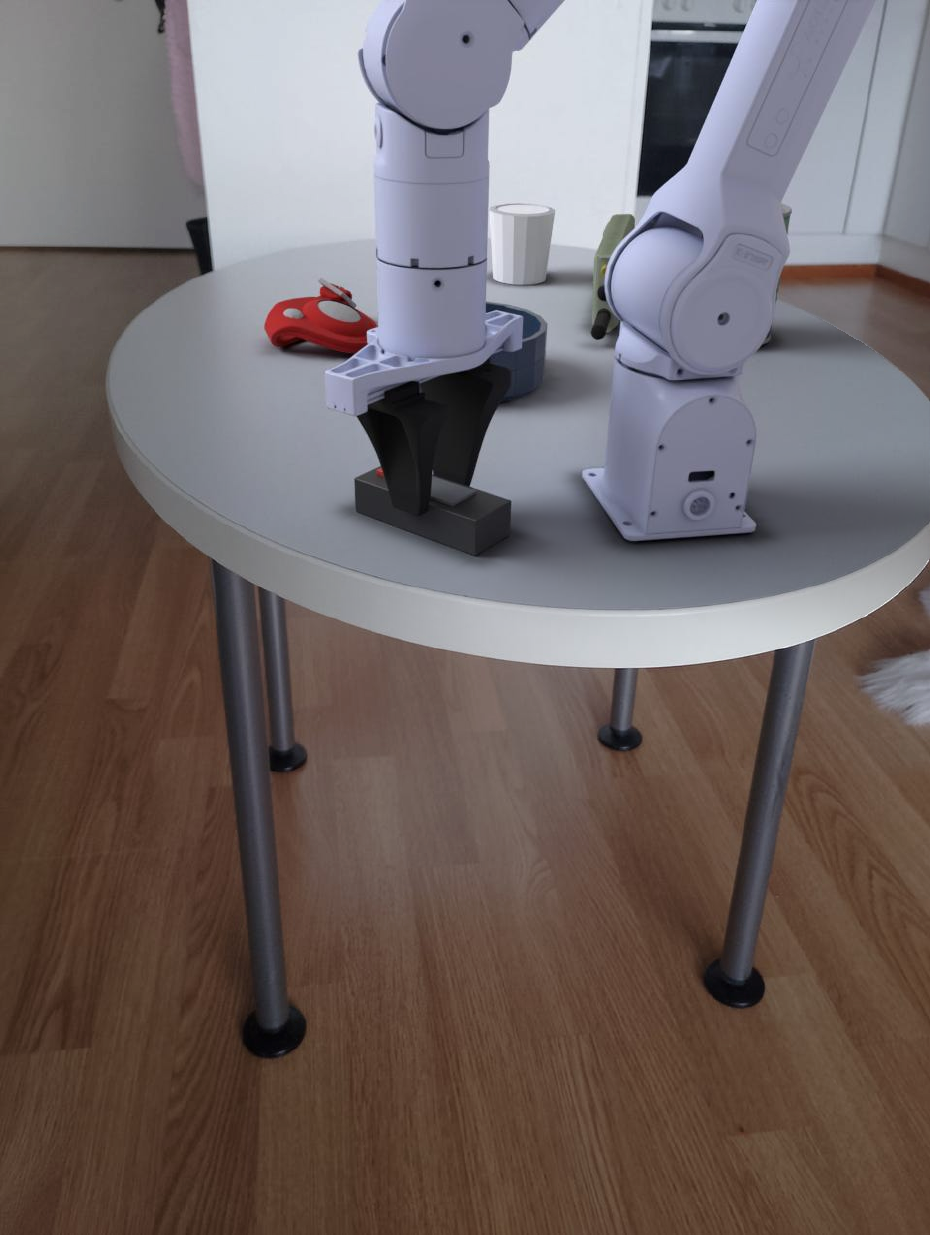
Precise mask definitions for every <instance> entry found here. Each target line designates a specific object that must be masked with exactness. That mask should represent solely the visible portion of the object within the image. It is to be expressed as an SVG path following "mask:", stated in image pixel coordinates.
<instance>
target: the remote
mask: <svg viewBox="0 0 930 1235" xmlns="http://www.w3.org/2000/svg"><path fill="white" fill-rule="evenodd" d="M353 480H354V504H355V512H357V513H359V514H362V515H364V516H368V517H370V518H373V519H374V520H375V519H376V520H378V521H381V522H383V523H385V524H389V525H392V526H394V527H396V528H400V529H401V530H404V531H407V532H410V533H413V534H415V535H418V536H421V537H422V538H423V537H424V538H426V539H429V540H432V541H434V542H437V543H438V544H439V543H440V544H442V545H445V546H447V547H451V548H452V549H456V550H458V551H461V552H464V553H467V554H469V555H472V556H475V557H476V556H478V555H479V554H480V553H482V552H484V551H486V550H487V549H489V548H490V547H492V546H494V545H496V544H497V543H499V542H500V541H502V540H503V539H505V538H507V537H509V536H510V535H511V522H512V521H511V520H512V519H511V518H512V500H511V499H508V498H505V497H502V496H499V495H496V494H493V493H490V492H487V491H484V490H481V489H478V488H474V487H472V486H470V487H469V486H466V485H463V484H460V483H457V482H454V481H451V480H448V479H445V478H442V477H439V476H436V475H433V473H432V487H431V498H430V503H429V505H428V509H427V512H426V513H425V514H423V515H421V516H416V515H413V514H410V513H408V512H405V511H402V510H399V509H397V508H394V507H393V505H392V501H391V498H390V494H389V491H388V487H387V484H386V480H385V477H384V474H383V471H382V468H381V465H379V466H377V467H374V468H373V469H371V470H369V471H366V472H364V473H363V474H360V475H358V476H356V477H354V479H353Z"/></svg>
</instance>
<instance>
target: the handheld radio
mask: <svg viewBox="0 0 930 1235" xmlns="http://www.w3.org/2000/svg"><path fill="white" fill-rule="evenodd" d="M635 225H636V218H635V216H634V215H633V214H631V213H621V214H620V213H618V214H613V215H612V216H611V217H610V220H609V221H608V222H607V224H606V225H605V226H604V227H605V228H604V230H603V231H602V238H601V240H600V242H599V245H598V247H597V249H596V252H595V255H594V257H593V276H592V277H593V278H592V300H591V302H592V303H591V325H592V328H591V330H590V335H591V337H592V338H593V339H594V340H597V341H599V340H602V339H604V338H605V337H606V334H610V333H611V332H612V331H613V330H614V329H616V327H617V326H618V325H619V323H620V320H619V319H618V318H617V317H616V316H615V315H614V313H613V312H612V310H611V309H610V307H609V304H608V302H607V299H606V294H605V284H604V282H605V273H606V269H607V265H608V262H609V260H610V258H611V255H612V254H613V252H614V250H615V248H616V247H617V246H618V245H619V243H620V242H621V241H622V240H623V239H624V238H625V237H626V236H627V235H628V234H629V233H630V232H631V231H632V230H633V229H634V228H635V227H636V226H635Z"/></svg>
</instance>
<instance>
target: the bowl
mask: <svg viewBox="0 0 930 1235" xmlns="http://www.w3.org/2000/svg"><path fill="white" fill-rule="evenodd" d="M495 310H498V311H502V312H507V313H511V314H516V315H520V316H523V335H522V348H521V349H519V350H517V351H514V352H507V351H504V350H502V351H499V352H497V353H494V354H492V355H491V364H494V365H498V366H502V367H505V368H508V369H509V370H510V371H511V387H510V388H509V390H508V391H507V393H506V394H505V396H504V397H503V399H502V400H501V402H500V403H503V402H508V401H511V400H516V399H518V398H521V397H523V396H525V395H527V394H529V393H531V392H532V391H533V390H534V389H535V388H537V387H538V386H539V385H540V384H542V383H543V382H544V379H545V374H546V358H547V357H546V356H547V341H548V325H549V324H548V322H547V321H546V320H545V319H544V318H543V317H542V315H540V314H538V313H535V312H533V311H531V310H529V309H526V308H523V307H519V306H515V305H511V304H507V303H500V302H493V301H487V300H486V313H489V312H492V311H495ZM419 390H420V393H421V392H422V390H421V386H420V384H419Z"/></svg>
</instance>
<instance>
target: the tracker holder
mask: <svg viewBox="0 0 930 1235" xmlns="http://www.w3.org/2000/svg"><path fill="white" fill-rule="evenodd" d="M317 281H318V283H319V284H320V285H322V286H321V287H320V288H319V295H317V296H303V297H293V298H289V299H283V300H282V301H278V302H277V303H275V304H274V305H273V307H272V308H271V309H270V311H269V312H268V314H267V316H266V318H265V321H264V326H263V329H264V331H265V334H266V335H267V337H268V339H269V342H270V343H271V344H272V346H274V347H280V348H281V347H285V346H288V345H291V344H294V343H297V342H298V341H301V340H305V341H307V342H309V343H312V344H314V345H318V346H320V347H324V348H325V349H330V350H334V351H337V352H341V353H346V354H356V353H357V352H359V351H360V350H361V349H363V348H364V347H365V346H366V345H368V343H367V331H368V330H370V329H373V328H376V327H378V324H377V323H376V322H375V320H373V319H372V318H371V317H370V316H368V315H367V314H365V313H364V312H363V311H361V310H360V309H357V304H356V302H354V301H353V294H352V293H351V291H350V290H348V289H345V288H344V287H343V286H341V285H337V284H334V283H331V282H328V281H327V280H326V279H324V278H322V277H318V279H317Z"/></svg>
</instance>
